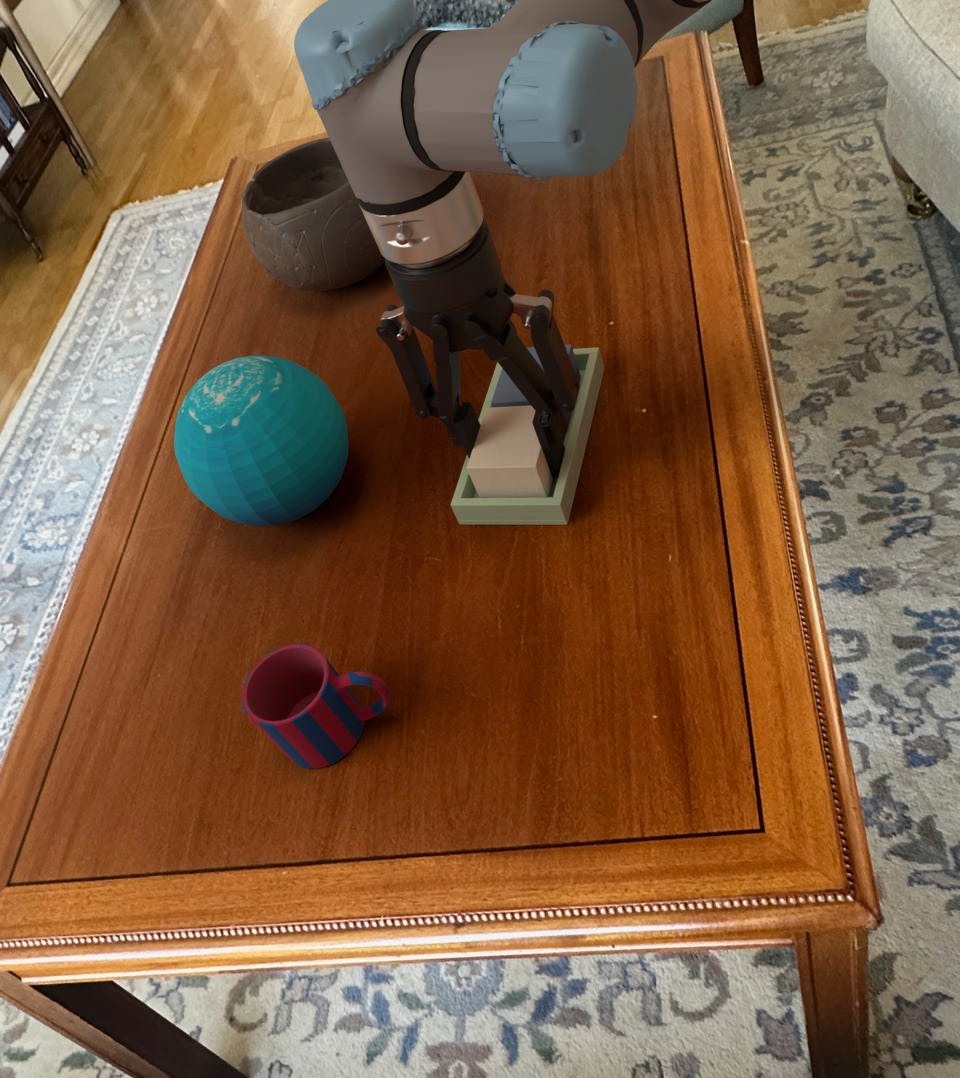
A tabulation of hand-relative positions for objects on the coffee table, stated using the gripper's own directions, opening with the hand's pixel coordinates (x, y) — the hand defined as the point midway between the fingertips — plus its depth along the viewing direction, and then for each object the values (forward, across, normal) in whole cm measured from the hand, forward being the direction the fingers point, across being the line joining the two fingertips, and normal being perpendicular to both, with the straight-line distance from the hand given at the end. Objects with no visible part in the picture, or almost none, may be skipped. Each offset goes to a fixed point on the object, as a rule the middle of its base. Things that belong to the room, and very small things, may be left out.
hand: (521, 465), depth 84 cm
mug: (+2, -9, -25) cm, 27 cm away
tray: (+2, 0, +4) cm, 4 cm away
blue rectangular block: (+1, 0, +8) cm, 8 cm away
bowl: (+2, -29, +33) cm, 44 cm away
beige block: (0, 0, 0) cm, 0 cm away
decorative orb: (+2, -22, -2) cm, 22 cm away
